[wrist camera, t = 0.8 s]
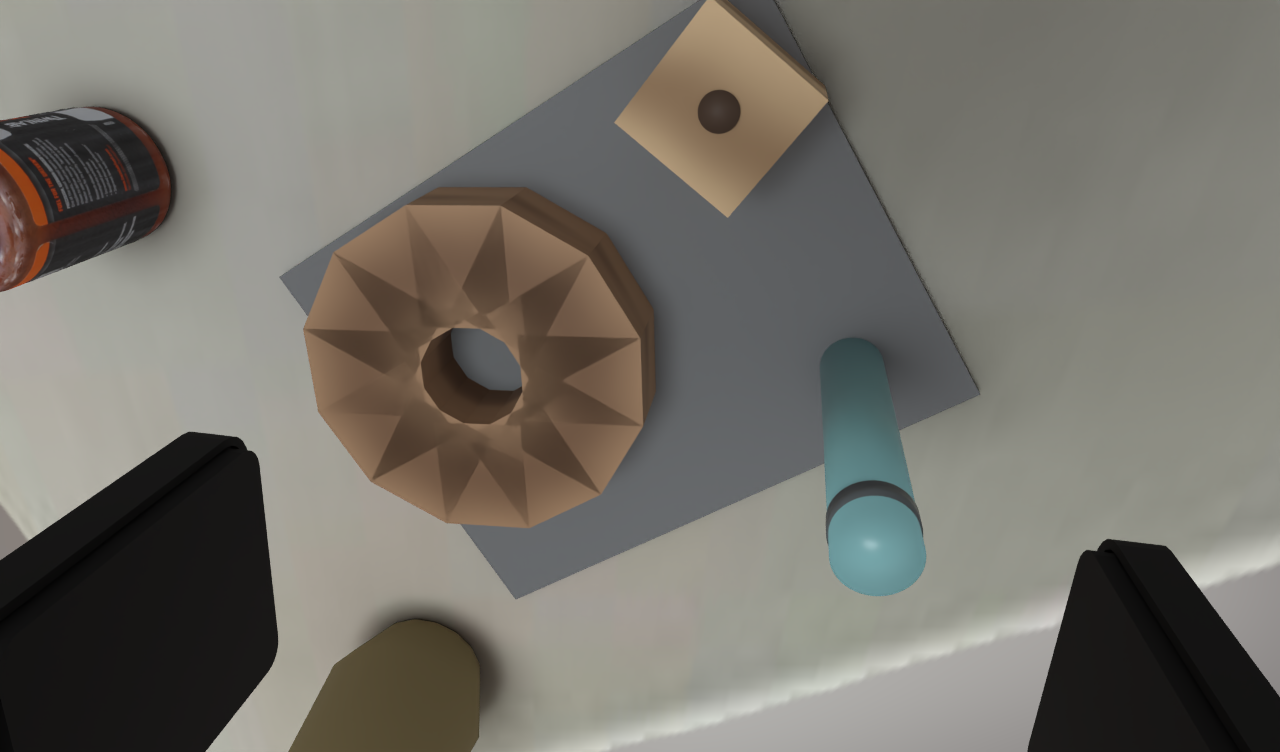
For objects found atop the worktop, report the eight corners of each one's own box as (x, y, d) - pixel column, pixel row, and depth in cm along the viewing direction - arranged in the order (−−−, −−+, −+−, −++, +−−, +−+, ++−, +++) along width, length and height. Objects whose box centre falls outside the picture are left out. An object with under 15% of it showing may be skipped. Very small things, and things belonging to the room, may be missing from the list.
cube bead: (722, -5, 33) (709, -4, 29) (825, 85, 34) (829, 100, 29) (638, 105, 35) (613, 122, 31) (736, 189, 36) (727, 218, 31)
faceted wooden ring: (538, 122, 36) (512, 135, 33) (714, 408, 40) (706, 444, 37) (286, 286, 41) (242, 311, 38) (464, 529, 44) (438, 571, 41)
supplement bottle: (84, 73, 39) (-174, 104, 29) (200, 165, 40) (-11, 226, 29) (34, 181, 41) (-221, 244, 31) (144, 265, 42) (-69, 355, 32)
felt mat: (755, -36, 33) (754, -36, 33) (978, 390, 38) (980, 394, 38) (283, 274, 41) (279, 277, 41) (518, 594, 46) (515, 599, 45)
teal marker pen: (866, 325, 37) (900, 499, 24) (896, 379, 38) (945, 576, 25) (807, 354, 38) (810, 537, 25) (837, 406, 39) (854, 610, 26)
